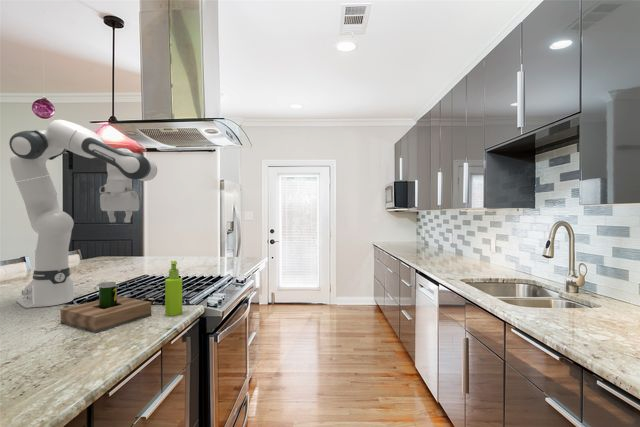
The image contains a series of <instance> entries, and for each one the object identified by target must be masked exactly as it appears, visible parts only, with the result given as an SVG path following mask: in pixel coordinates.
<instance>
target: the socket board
mask: <svg viewBox="0 0 640 427" xmlns="http://www.w3.org/2000/svg"><path fill="white" fill-rule="evenodd" d="M151 316H152V301H148V300H142V299H137V298H131V297H127V296H121V295H117V306H114V307H111V308H107V309H100V308H99V299H97V300H95V301H90V302H84V303H80V304H77V305H73V306H68V307H67V306H66V307H64V308H61V309H60V324H61V325H64V326H69V327H71V328H76V329H80V330H83V331H86V332H90V333H94V334H97V333H99V332H103V331H107V330H109V329H113V328H115V327H119V326H122V325H126V324H129V323H132V322H135V321H138V320H141V319H144V318H148V317H151Z"/></svg>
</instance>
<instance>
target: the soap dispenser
mask: <svg viewBox="0 0 640 427" xmlns="http://www.w3.org/2000/svg"><path fill="white" fill-rule="evenodd" d="M170 264H171V265H170V269H168V278H166V279H164V288H165V289H164V292H165V293H164V294H165V296H164V298H165V300H164V301H165V302H164V304H165V306H164V308H165V310H164V311H165V316H167V317H175V316H179V315H180V316H181V315H182V314H183V278H182V277H179V273H180V272H179V268H177V265H178V261H177V260H170Z"/></svg>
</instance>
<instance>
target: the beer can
mask: <svg viewBox="0 0 640 427" xmlns="http://www.w3.org/2000/svg"><path fill="white" fill-rule="evenodd" d="M117 296H118V285H117V282H116V281H106V282H100V283H99V287H98V300H99V308H100V309H107V308H111V307H114V306H117Z"/></svg>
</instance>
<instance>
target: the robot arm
mask: <svg viewBox="0 0 640 427" xmlns="http://www.w3.org/2000/svg"><path fill="white" fill-rule="evenodd" d="M104 141H105V140H104V139H103V137H102V136H101V135H99V134H98V133H96V132H94V131H93V130H91V129H89V128H87V127H85V126H82V125H80V124H78V123H75V122H72V121H68V120H64V119H55V120H52V121H51V122H50V123H49V124H48V125H47V128H46V129H35V130H23V131H22V130H21V131H19V132H16V133H14V134H13V135H12V136H11V137H10V138H9V142H8V144H9V147H10V151H11V152H12V153H13V154H12V155H11V156H10V158H9V163H10V169H11V171H12V172H11V173H12V175H13V178H14V180H15V184H16V185H17V188H18V189H19V192H20V195H21V197H22V200H23V202H24V206H25V209H26V213H27V217H28V219H29V223H30V226H31V229H32V230H33V231H34V232H36V233H37V234H38V236H37V243H36V247H35V250H34V270H33V271H32V272H33V273H32V280H31V281H30V282H29V283H28V284H27V285H26V286H25V288H24V289H21V296H23V297H22V298H18V299H17V300H16V303H17V304H19V305H20V306H22V307H23V308H24V309H25V308H26V309H27V308H28V309H30V308H37V307H38V308H40V307H41V308H42V307H52V306H58V305H62V304H66V303H69V302H72V301H73V300H74V299H76V298H78V294H75V290H74V289H75V288H74V280H73V279H72V278H71V277H70V276H71V269H70V267H69V247H70V243H71V238H72V232H73V231H72V230H73V228H74V223H75V221H74V219H73V218H72V216H71V215H70V214H69V213H67V212H65V211H63V210H60V207H59V202H58V193H57V190H56V187H55V186H54V183H53V180H52V178H51V175H50V173H49V171H48V169H47V164H46V163H47V161H48V160H49V161H53V160H55V159H56V158H58V157H60V156H62V155H63V154H65V153H66V152H67V151H69V152H71V153H73V154H75V155H79V156H82V157H84V158H88V159H94V158H95V159H99V160H100V161H103V162H105V163H106V172H107V177H106V178H107V179H106V183H105V184H104V185H102V186H101V187H99V193H100V195H99V203H100V204H99V206H100V207H99V208H100V210H101V212H107V217H108V219H109V223H116V220H117V218H116V217H115V212H124V213H125V217H124V218H123V223H131V218H132V216H133V212H138V211H139V210H140V199H139V195H138V191H137V190H136V189H135V188H134V187H133V180H137V181H143V182H147V181H151V180H153V179H154V178H156V176H157V173H158V167H157V165H156V163H155V162H154V161H153V160H151V159H150V158H147V157H145V156H144V155H142V154H140V153H138V152H134V151H131V150H130V149H128V148H125V147H122V148H121V147H120V148H119V147H118V148H115V147H113V146H111V145H109V144H107V143H105V142H104Z"/></svg>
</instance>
